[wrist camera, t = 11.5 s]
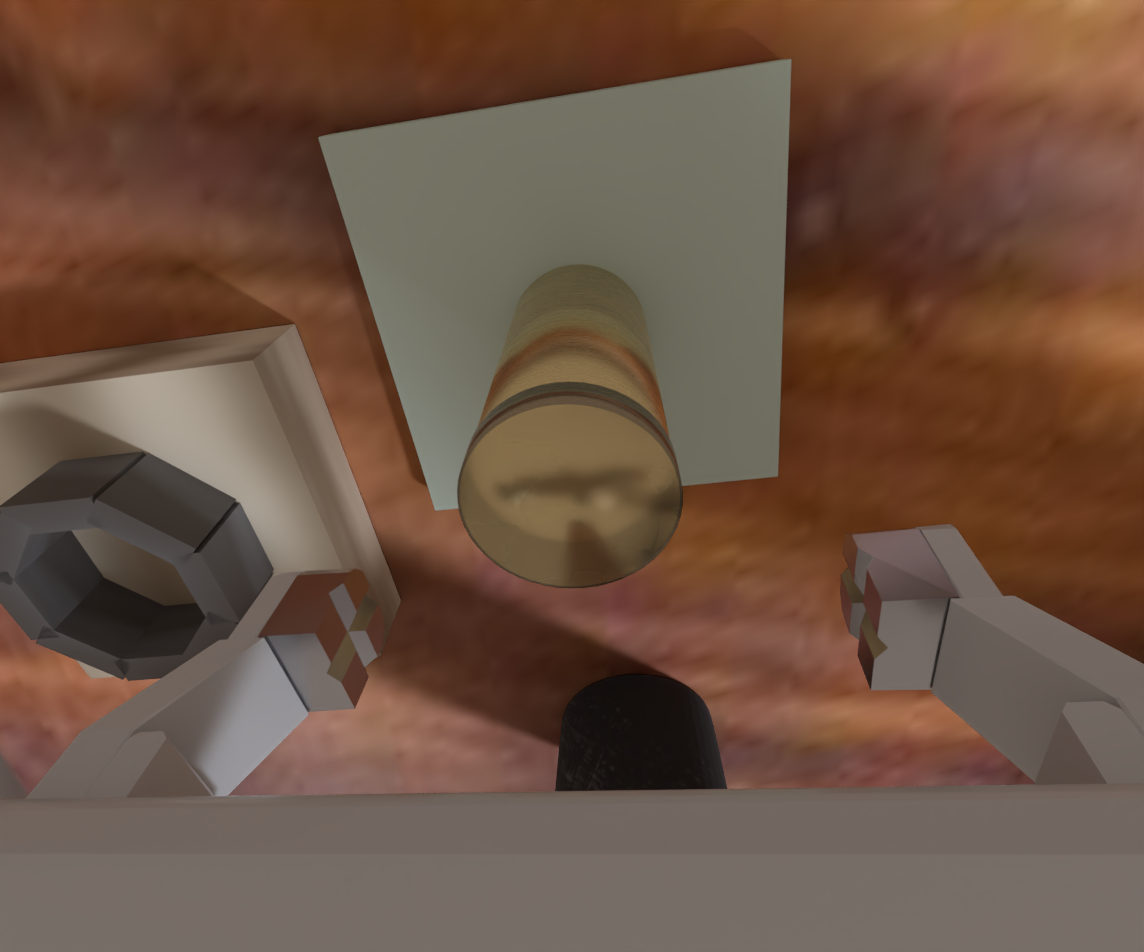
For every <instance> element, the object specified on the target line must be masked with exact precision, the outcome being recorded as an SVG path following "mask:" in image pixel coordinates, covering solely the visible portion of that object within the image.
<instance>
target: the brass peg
mask: <svg viewBox="0 0 1144 952" xmlns="http://www.w3.org/2000/svg"><path fill="white" fill-rule="evenodd" d="M457 502H458V507H459V512H460V516H461V519H462V521H463V524H464V527H465V528H466V530H467V532H468V534H469V536H470V537H471V539H472V540H473V542H474V543H475V544H476V546H477V547H478V548H479V549H480V550H481V551H482V552H483V553H484V554H485V555H486V556H487V557H488V558H489V559H490V560H492V561H493V562H494V563H495V564H496V565H498V566H500V567H501V568H503V569H504V570H506V571H507V572H509V573H511V574H513V575H515V576H517V577H519V578H522V579H525V580H527V581H530V582H533V583H537V584H541V585H545V586H551V587H558V588H586V587H594V586H599V585H604V584H608V583H611V582H614V581H617V580H620V579H623V578H625V577H627V576H629V575H631V574H633V573H635V572H636V571H638V570H640V569H641V568H643V567H644V566H646V565H647V564H648V563H649V562H651V561H652V560H653V559H654V558H655V557H656V556H657V555H658V554H659V553H660V552H661V551H662V550H663V549H664V548H665V546H666V545H667V543H668V542H669V541H670V539H671V537H672V536H673V534H674V532H675V530H676V528H677V525H678V522H679V519H680V516H681V510H682V505H683V490H682V483H681V477H680V473H679V468H678V463H677V458H676V455H675V451H674V448H673V445H672V443H671V441H670V438H669V433H668V428H667V423H666V418H665V413H664V408H663V403H662V398H661V393H660V389H659V384H658V379H657V374H656V369H655V364H654V359H653V354H652V349H651V344H650V339H649V335H648V330H647V325H646V320H645V315H644V312H643V308H642V306H641V304H640V301H639V299H638V298H637V296H636V294H635V293H634V291H633V290H632V289H631V288H630V287H629V285H628V284H626V283H625V282H624V281H623V280H622V279H621V278H619V277H618V276H616V275H615V274H613V273H611V272H609V271H607V270H605V269H602V268H599V267H596V266H591V265H581V264H576V265H567V266H562V267H559V268H556V269H553V270H551V271H549V272H547V273H545V274H543V275H542V276H540V277H539V278H537V279H536V280H535V281H534V282H533V283H532V284H531V285H530V286H529V287H528V288H527V289H526V291H525V292H524V293H523V295H522V297H521V298H520V300H519V302H518V304H517V307H516V310H515V313H514V316H513V319H512V322H511V325H510V328H509V331H508V334H507V337H506V340H505V343H504V347H503V350H502V353H501V356H500V359H499V362H498V365H497V368H496V371H495V374H494V377H493V380H492V384H491V387H490V390H489V393H488V396H487V399H486V402H485V405H484V408H483V411H482V414H481V417H480V421H479V424H478V427H477V429H476V431H475V432H474V434H473V436H472V439H471V441H470V443H469V446H468V449H467V452H466V455H465V458H464V461H463V464H462V467H461V470H460V474H459V478H458V486H457Z"/></svg>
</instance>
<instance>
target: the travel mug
mask: <svg viewBox="0 0 1144 952" xmlns="http://www.w3.org/2000/svg"><path fill="white" fill-rule="evenodd" d="M686 789H727V786H726V781H725V776H724V772H723V767H722V762H721V757H720V753H719V748H718V744H717V739H716V735H715V730H714V726H713V722H712V718H711V715H710V712H709V710H708V708H707V706H706V704H705V703H704V701H703V700H702V699H701V698H700V696H698V695H697V694H696V693H695V692H694V691H693V690H691V689H690V688H688V687H686V686H685V685H683V684H681V683H679V682H676V681H673V680H670V679H667V678H663V677H658V676H652V675H623V676H617V677H612V678H608V679H605V680H601V681H599V682H596V683H594V684H592V685H590V686H588V687H586V688H585V689H583V690H582V691H581V692H579V693H578V694H577V695H576V696H575V697H574V698H573V699H572V700H571V701H570V703H569V704H568V706H567V708H566V710H565V712H564V716H563V719H562V726H561V736H560V745H559V756H558V767H557V778H556V789H555V791H615V790H686Z"/></svg>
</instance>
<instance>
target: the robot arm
mask: <svg viewBox="0 0 1144 952" xmlns="http://www.w3.org/2000/svg"><path fill="white" fill-rule="evenodd" d="M843 555H844V558H845V560H846V563H847V565H848V568H847V569H846V570H845V571H844V572H843V573H842V574H841V586H840V594H841V604H842V610H843V615H844V619H845V622H846V625H847V628H848V631H849V633H850V634H851V635H853V636H854V637H855V638H857V639H858V640H859V646H858V658H859V660H860V663H861V666H862V668H863V671H864V674H865V676H866V679H867V681H868V684H869V687H870V689H871V690H932V691H931V692H932V693H933V694H934V695H935V696H936V697H937V698H939V699H940V700H941V701H942V702H943V703H944V704H946V705H947V706H948V707H949V708H950V709H951V710H952V711H954V712H955V713H956V714H957V715H958V716H959V717H961V718H962V719H963V720H964V721H965V722H966V723H967V724H969V725H970V726H971V727H972V728H973V729H974V730H976V731H977V732H978V733H979V734H980V735H981V736H982V737H984V738H985V739H986V740H987V741H988V742H989V743H991V744H992V745H993V746H994V747H995V748H996V749H997V750H999V751H1000V752H1001V753H1002V754H1003V755H1004V756H1005V757H1007V758H1008V759H1009V760H1010V761H1011V762H1012V763H1014V764H1015V765H1016V766H1017V767H1018V768H1019V769H1020V770H1022V771H1023V772H1024V773H1025V774H1026V775H1027V776H1029V777H1030V778H1031V779H1032V780H1033V781H1034V782H1035V783H1034V785H976V786H901V787H827V788H756V789H686V790H615V791H543V792H471V793H399V794H328V795H257V796H227V795H228V794H229V793H230V792H232V791H233V790H234V789H235V788H236V787H237V786H238V785H239V784H240V783H241V782H242V781H243V780H244V779H245V778H246V777H247V776H248V775H249V774H250V773H251V772H252V771H253V770H254V769H255V768H256V767H257V766H258V765H259V764H260V763H261V762H262V761H263V760H264V759H265V758H266V757H267V756H268V755H269V754H270V753H271V752H272V751H273V750H274V749H275V748H276V747H277V746H278V745H279V744H280V743H281V742H282V741H283V740H284V739H285V738H286V737H287V736H288V735H289V734H290V733H291V732H292V731H293V730H294V729H295V728H296V727H297V726H298V725H299V724H300V723H301V722H302V721H303V720H304V719H305V718H306V717H307V716H308V715H309V713H308V712H313V711H328V710H343V709H355V707H356V705H357V703H358V700H359V698H360V696H361V693H362V691H363V689H364V687H365V684H366V682H367V680H368V674H367V672H366V669H365V666H367V665H368V664H369V663H370V662H371V661H373V660H374V659H375V658H376V657H377V656H378V654H379V651H380V649H381V646H382V644H383V636H384V621H383V616H382V612H381V610H380V608H379V605H378V604H377V603H376V602H375V601H373V600H372V599H370V598H369V597H368V596H366V593H367V591H368V589H369V586H370V585H369V583H368V581H367V579H366V577H365V575H364V572H363V571H361V570H358V569H356V568H355V569H334V570H313V571H304V572H282V573H278V574H276V575H274V576H272V577H271V579H270V580H269V581H268V583H267V584H266V586H265V587H264V588H263V590H262V591H261V593H260V594H259V596H258V597H257V598H256V600H255V601H254V603H253V604H252V605H251V607H250V608H249V610H248V611H247V613H246V614H245V615H244V617H243V618H242V620H241V621H240V622H239V624H238V625H237V627H236V628H235V630H234V631H233V632H232V634H231V635H230V637H229V638H228V639H226V640H219V641H217V642H216V643H214V644H213V645H211V646H209V647H208V648H206V649H205V650H203V651H202V652H200V653H199V654H197V655H196V656H194V657H193V658H191V659H190V660H188V661H187V662H185V663H184V664H182V665H181V666H179V667H178V668H176V669H175V670H173V671H172V672H170V673H169V674H167V675H166V676H164V677H163V678H161V679H160V680H158V681H157V682H155V683H154V684H152V685H150V686H149V687H147V688H146V689H144V690H143V691H141V692H140V693H138V694H137V695H135V696H134V697H132V698H131V699H129V700H128V701H126V702H125V703H123V704H122V705H120V706H119V707H117V708H116V709H114V710H113V711H111V712H110V713H108V714H107V715H105V716H104V717H102V718H101V719H99V720H98V721H96V722H95V723H93V724H92V725H90V726H88V727H87V728H85V729H84V730H82V731H81V732H80V733H79V735H78V736H77V737H76V738H75V739H74V741H73V742H72V743H71V744H70V746H69V747H68V748H67V749H66V750H65V752H64V753H63V754H62V755H61V757H60V758H59V759H58V760H57V761H56V763H55V764H54V765H53V766H52V767H51V769H50V770H49V771H48V772H47V774H46V775H45V776H44V777H43V778H42V780H41V781H40V782H39V783H38V784H37V786H36V787H35V788H34V789H33V791H32V792H31V793H30V794H29V795H28V797H27V798H26V799H0V952H1144V664H1143V663H1141V662H1139V661H1137V660H1135V659H1133V658H1131V657H1130V656H1128V655H1126V654H1124V653H1122V652H1120V651H1118V650H1116V649H1114V648H1112V647H1111V646H1109V645H1107V644H1105V643H1103V642H1101V641H1099V640H1097V639H1095V638H1094V637H1092V636H1090V635H1088V634H1086V633H1084V632H1082V631H1080V630H1078V629H1076V628H1075V627H1073V626H1071V625H1069V624H1067V623H1065V622H1063V621H1061V620H1059V619H1058V618H1056V617H1054V616H1052V615H1050V614H1048V613H1046V612H1044V611H1042V610H1041V609H1039V608H1037V607H1035V606H1033V605H1031V604H1029V603H1027V602H1025V601H1023V600H1022V599H1020V598H1018V597H1016V596H1003V595H1002V594H1001V592H1000V591H999V589H998V588H997V586H996V585H995V583H994V582H993V581H992V579H991V578H990V576H989V575H988V573H987V572H986V570H985V569H984V568H983V566H982V565H981V563H980V562H979V560H978V559H977V557H976V556H975V555H974V553H973V552H972V550H971V549H970V547H969V546H968V544H967V543H966V542H965V540H964V539H963V537H962V536H961V534H960V533H959V531H958V530H957V529H956V527H954V526H952V525H951V524H942V525H932V526H921V527H915V528H908V529H895V530H882V531H869V532H856V533H846V536H845V539H844V546H843Z"/></svg>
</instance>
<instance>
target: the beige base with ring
mask: <svg viewBox="0 0 1144 952" xmlns="http://www.w3.org/2000/svg"><path fill="white" fill-rule="evenodd" d="M355 568H356V569H358V570H361V571H363V572H364V575H365V577H366V579H367V581H368V583H369V585H370V586H369V589H368V591H367V593H366V596H368V597H369V598H370V599H372V600H373V601H375V602H376V603H377V604H378V605H379V608H380V610H381V612H382V616H383V621H384V636H383V644H382V646H381V649H380V651H379V654H378V656H381V654H382V652H383V649H384V646H385V643H386V641H387V638H388V635H389V632H390V630H391V627H392V624H393V622H394V619H395V616H396V613H397V611H398V608H399V605H400V602H401V599H400V596H399V594H398V591H397V589H396V586H395V583H394V581H393V578H392V576H391V573H390V570H389V568H388V565H387V563H386V560H385V557H384V555H383V552H382V550H381V547H380V544H379V542H378V539H377V537H376V534H375V531H374V529H373V526H372V523H371V521H370V518H369V516H368V513H367V510H366V508H365V505H364V503H363V500H362V497H361V495H360V492H359V490H358V487H357V484H356V482H355V479H354V477H353V474H352V471H351V469H350V466H349V464H348V461H347V458H346V456H345V453H344V450H343V448H342V445H341V443H340V440H339V437H338V435H337V432H336V430H335V427H334V424H333V422H332V419H331V417H330V414H329V411H328V409H327V406H326V404H325V401H324V398H323V396H322V393H321V391H320V388H319V385H318V383H317V380H316V378H315V375H314V372H313V370H312V367H311V364H310V362H309V359H308V357H307V354H306V351H305V349H304V346H303V344H302V341H301V338H300V336H299V333H298V331H297V328H296V325H295V324H290V325H283V326H275V327H268V328H260V329H253V330H245V331H238V332H230V333H223V334H215V335H208V336H201V337H193V338H186V339H178V340H171V341H163V342H156V343H148V344H141V345H133V346H126V347H118V348H111V349H103V350H96V351H89V352H81V353H74V354H66V355H59V356H51V357H44V358H36V359H29V360H21V361H14V362H6V363H0V603H1V604H2V605H3V606H4V608H5V609H6V610H7V611H8V612H9V614H10V615H11V616H12V617H13V618H14V620H15V621H16V622H17V623H18V624H19V626H20V627H21V628H22V629H23V630H24V632H25V633H26V634H27V635H28V636H29V638H30V639H31V640H35V639H37V642H36V643H37V644H39V645H42V646H44V647H46V648H49V649H51V650H54V651H56V652H58V653H61V654H63V655H66V656H68V657H70V658H73V659H75V660H77V662H78V663H79V664H80V665H81V667H82V668H83V669H84V670H85V672H86V673H87V674H88V675H89V677H90V678H104V677H118V678H120V679H124V678H125V677H126V678H127V680H128V681H131V680H144V679H157V678H163V677H164V676H166V675H167V674H169V673H170V672H172V671H173V670H175V669H176V668H178V667H179V666H181V665H182V664H184V663H185V662H187V661H188V660H190V659H191V658H193V657H194V656H196V655H197V654H199V653H200V652H202V651H203V650H205V649H206V648H208V647H209V646H211V645H213V644H214V643H216V642H217V641H219V640H226V639H228V638H229V637H230V635H231V634H232V632H233V631H234V630H235V628H236V627H237V625H238V624H239V622H240V621H241V620H242V618H243V617H244V615H245V614H246V613H247V611H248V610H249V608H250V607H251V605H252V604H253V603H254V601H255V600H256V598H257V597H258V596H259V594H260V593H261V591H262V590H263V588H264V587H265V586H266V584H267V583H268V581H269V580H270V579H271V577H272V576H274V575H276V574H278V573H282V572H304V571H313V570H334V569H355ZM378 656H377V657H378Z"/></svg>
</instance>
